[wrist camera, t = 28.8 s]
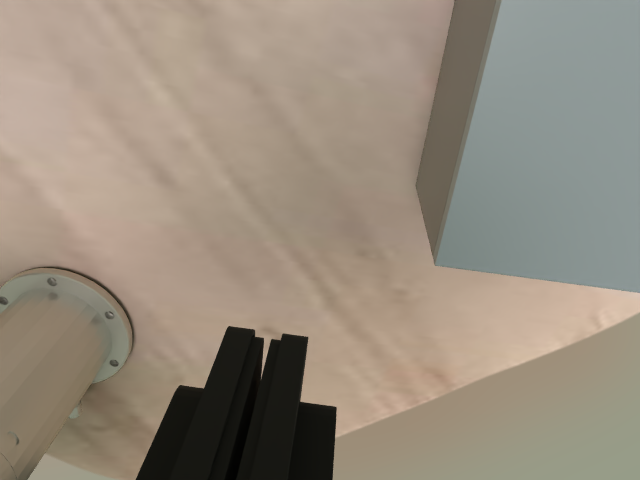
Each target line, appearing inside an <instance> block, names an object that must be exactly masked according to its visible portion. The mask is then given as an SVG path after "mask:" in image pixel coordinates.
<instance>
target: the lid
mask: <svg viewBox="0 0 640 480" xmlns="http://www.w3.org/2000/svg"><path fill="white" fill-rule="evenodd" d="M433 259H434V263H435V266H442V267H450V268H457V269H465V270H472V271H480V272H487V273H495V274H502V275H509V276H517V277H524V278H532V279H539V280H547V281H554V282H562V283H569V284H577V285H584V286H592V287H599V288H607V289H614V290H622V291H629V292H637V293H640V0H496V3H495V7H494V11H493V15H492V19H491V23H490V27H489V31H488V35H487V40H486V44H485V48H484V52H483V56H482V60H481V64H480V68H479V72H478V76H477V80H476V84H475V88H474V92H473V96H472V100H471V104H470V108H469V112H468V117H467V121H466V125H465V129H464V133H463V137H462V141H461V145H460V149H459V153H458V157H457V161H456V165H455V169H454V173H453V177H452V181H451V185H450V189H449V194H448V198H447V202H446V206H445V210H444V214H443V218H442V222H441V226H440V230H439V234H438V238H437V242H436V246H435V250H434V254H433Z"/></svg>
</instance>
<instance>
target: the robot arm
mask: <svg viewBox="0 0 640 480" xmlns="http://www.w3.org/2000/svg"><path fill="white" fill-rule="evenodd" d="M132 342H133V340H132V330H131V326H130V323H129V320H128V318H127V316H126V314H125V312H124V311H123V309H122V308H121V306H120V305H119V304H118V302H117V301H116V300H115V299H114V298H113V297H112V296H111V295H110V294H109V293H108V292H107V291H106V290H105V289H103V288H102V287H100V286H99V285H97V284H96V283H94V282H93V281H91V280H89V279H87V278H85V277H83V276H81V275H78V274H75V273H72V272H69V271H66V270H60V269H55V268H37V269H32V270H27V271H24V272H22V273H19V274H17V275H16V276H14V277H13V278H11V279H10V280H9V281H8V282H7V283H5V284H4V285H3V286H2V287H1V288H0V480H27V479H28V478H29V476H30V475H31V473H32V472H33V470H34V469H35V467H36V466H37V464H38V463H39V461H40V460H41V458H42V456H43V455H44V454H45V452H46V451H47V449H48V448H49V446H50V445H51V443H52V442H53V440H54V438H55V437H56V435H57V434H58V432H59V431H60V429H61V428H62V426H63V425H64V423H65V422H66V420H67V419H68V418H76V417H79V416H80V415H81V413H82V407H81V401H80V400H81V398H82V397H83V395H84V394H85V392H86V391H87V389H88V388H89V386H90V385H91V384H93V383H97V382H101V381H104V380H106V379H108V378H110V377H111V376H113V375H114V374H116V373H117V372H118V371H119V370H120V369H121V368H122V366H123V364H124V363H125V361H126V360H127V358H128V356H129V354H130V352H131V347H132ZM307 344H308V337H304V336H297V335H290V334H282V338H281V340H274V339H271V342H270V346H269V350H268V354H267V358H266V362H265V366H264V370H263V374H262V378H261V372H262V359H263V346H264V338H259V337H255V330H253V329H246V328H238V327H231V326H229V327H228V328H227V330H226V332H225V335H224V338H223V340H222V343H221V346H220V348H219V351H218V353H217V356H216V359H215V361H214V364H213V366H212V369H211V372H210V374H209V377H208V380H207V382H206V385H205V387H204V389H203V388H196V387H189V386H182V385H180V386H179V387H178V388H177V390H176V391H175V393H174V395H173V397H172V400H171V402H170V404H169V406H168V409H167V411H166V413H165V415H164V418H163V420H162V422H161V424H160V427H159V429H158V431H157V433H156V435H155V438H154V440H153V442H152V444H151V447H150V449H149V451H148V453H147V456H146V458H145V460H144V462H143V465H142V467H141V469H140V471H139V473H138V476H137V478H136V480H332V478H333V460H334V445H335V429H336V407H333V406H326V405H319V404H311V403H304V402H300V399H301V391H302V383H303V375H304V367H305V360H306V352H307Z"/></svg>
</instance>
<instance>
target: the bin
mask: <svg viewBox="0 0 640 480" xmlns="http://www.w3.org/2000/svg"><path fill="white" fill-rule="evenodd" d="M495 3H496V0H455V3H454V8H453V13H452V17H451V22H450V27H449V32H448V36H447V41H446V46H445V50H444V55H443V60H442V64H441V69H440V74H439V79H438V83H437V88H436V93H435V97H434V102H433V107H432V111H431V116H430V121H429V125H428V130H427V135H426V140H425V144H424V149H423V154H422V158H421V163H420V168H419V172H418V177H417V182H416V189H417V193H418V197H419V201H420V205H421V210H422V214H423V218H424V222H425V226H426V230H427V234H428V239H429V243H430V247H431V251H432V255H433V254H434V250H435V246H436V242H437V238H438V234H439V230H440V226H441V222H442V218H443V214H444V210H445V206H446V202H447V198H448V194H449V189H450V185H451V181H452V177H453V173H454V169H455V165H456V161H457V157H458V153H459V149H460V145H461V141H462V137H463V133H464V129H465V125H466V121H467V117H468V112H469V108H470V104H471V100H472V96H473V92H474V88H475V84H476V80H477V76H478V72H479V68H480V64H481V60H482V56H483V52H484V48H485V44H486V40H487V35H488V31H489V27H490V23H491V19H492V15H493V11H494V7H495Z"/></svg>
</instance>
